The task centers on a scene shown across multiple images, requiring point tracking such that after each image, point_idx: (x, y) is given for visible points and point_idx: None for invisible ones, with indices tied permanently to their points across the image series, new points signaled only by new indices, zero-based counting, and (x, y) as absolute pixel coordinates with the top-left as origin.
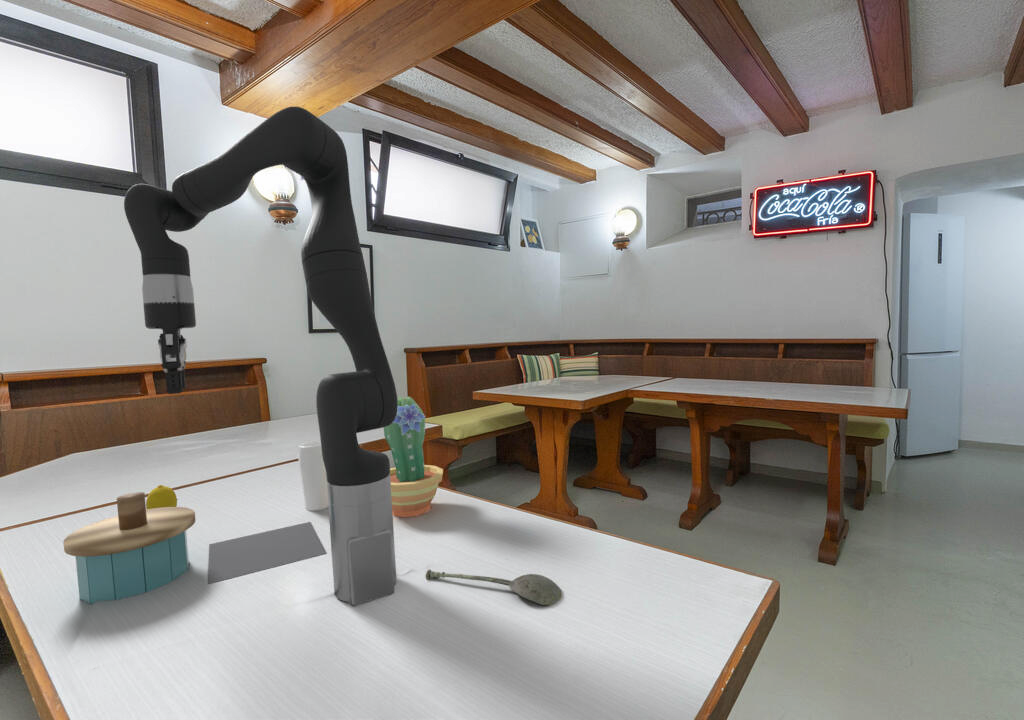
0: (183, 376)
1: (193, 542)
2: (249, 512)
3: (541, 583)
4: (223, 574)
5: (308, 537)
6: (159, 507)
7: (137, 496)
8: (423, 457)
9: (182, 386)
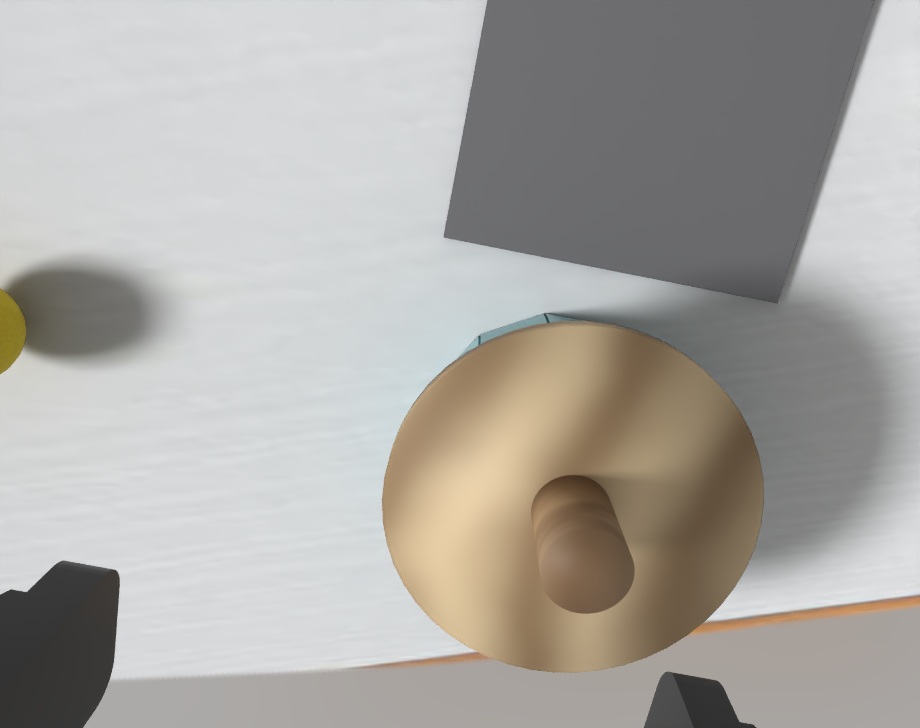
0: (13, 683)
1: (351, 270)
2: (144, 21)
3: None
4: (751, 254)
5: None
6: (12, 346)
7: (627, 555)
8: None
9: (102, 605)
